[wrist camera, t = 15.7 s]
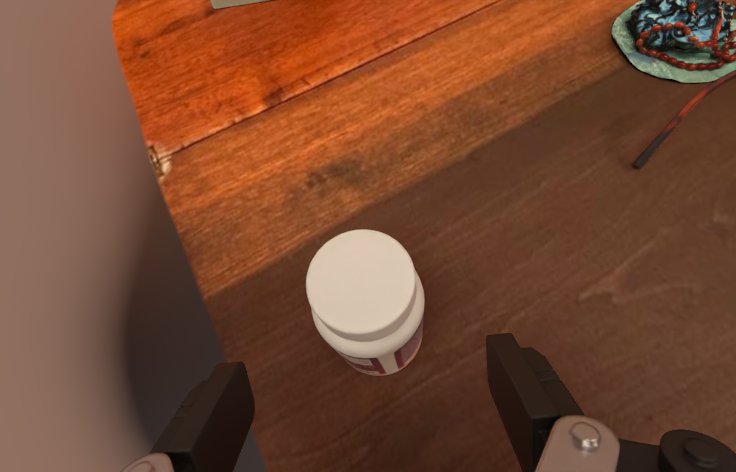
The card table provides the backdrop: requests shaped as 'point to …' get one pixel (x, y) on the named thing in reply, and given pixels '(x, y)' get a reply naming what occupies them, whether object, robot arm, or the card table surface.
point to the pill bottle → (367, 301)
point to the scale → (232, 3)
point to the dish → (679, 38)
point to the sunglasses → (681, 114)
